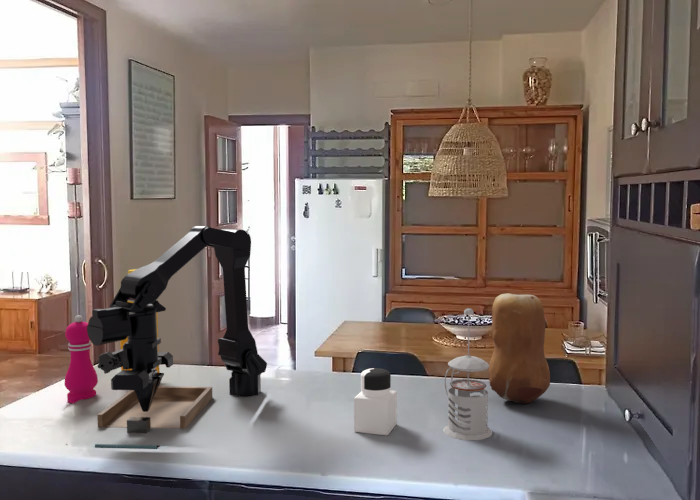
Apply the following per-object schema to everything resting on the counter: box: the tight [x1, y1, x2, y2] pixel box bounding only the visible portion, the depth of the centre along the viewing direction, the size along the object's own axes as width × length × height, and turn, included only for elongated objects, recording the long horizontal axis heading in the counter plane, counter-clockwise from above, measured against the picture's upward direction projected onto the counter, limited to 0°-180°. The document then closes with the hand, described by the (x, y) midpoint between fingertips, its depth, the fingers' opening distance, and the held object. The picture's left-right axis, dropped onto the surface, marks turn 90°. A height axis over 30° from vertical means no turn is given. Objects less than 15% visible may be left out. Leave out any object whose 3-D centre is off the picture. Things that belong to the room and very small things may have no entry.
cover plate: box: [94, 417, 161, 450], centre depth 129 cm, size 12×8×4 cm, turn 86°
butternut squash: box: [488, 292, 551, 405], centre depth 151 cm, size 14×13×25 cm
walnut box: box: [96, 385, 214, 430], centre depth 143 cm, size 18×20×4 cm
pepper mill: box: [64, 314, 99, 405], centre depth 154 cm, size 7×7×20 cm
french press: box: [443, 308, 493, 441], centre depth 133 cm, size 10×12×25 cm
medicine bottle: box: [353, 367, 398, 436], centre depth 135 cm, size 7×7×12 cm
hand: (145, 411), depth 135 cm, fingers closed
